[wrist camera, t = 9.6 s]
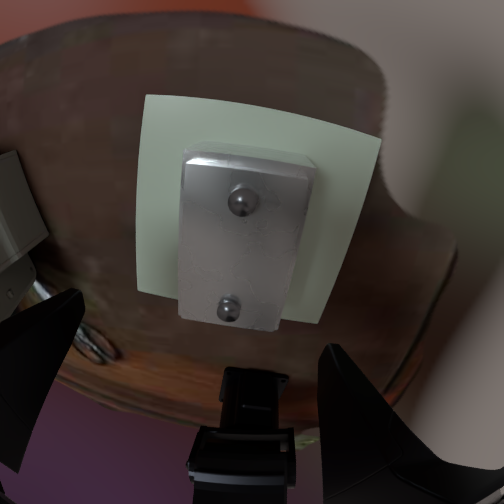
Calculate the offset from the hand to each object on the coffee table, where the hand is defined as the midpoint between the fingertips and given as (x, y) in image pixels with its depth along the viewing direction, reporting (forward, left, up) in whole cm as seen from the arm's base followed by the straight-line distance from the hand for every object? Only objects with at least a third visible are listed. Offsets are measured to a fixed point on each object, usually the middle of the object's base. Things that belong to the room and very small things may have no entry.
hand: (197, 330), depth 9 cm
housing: (+1, -1, -7) cm, 7 cm away
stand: (+1, -1, -11) cm, 11 cm away
